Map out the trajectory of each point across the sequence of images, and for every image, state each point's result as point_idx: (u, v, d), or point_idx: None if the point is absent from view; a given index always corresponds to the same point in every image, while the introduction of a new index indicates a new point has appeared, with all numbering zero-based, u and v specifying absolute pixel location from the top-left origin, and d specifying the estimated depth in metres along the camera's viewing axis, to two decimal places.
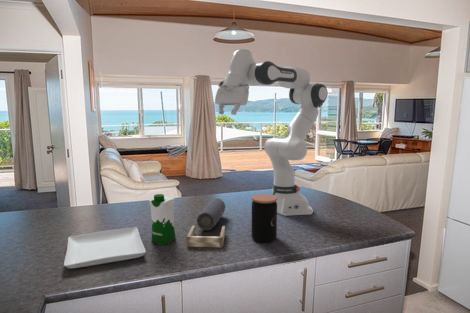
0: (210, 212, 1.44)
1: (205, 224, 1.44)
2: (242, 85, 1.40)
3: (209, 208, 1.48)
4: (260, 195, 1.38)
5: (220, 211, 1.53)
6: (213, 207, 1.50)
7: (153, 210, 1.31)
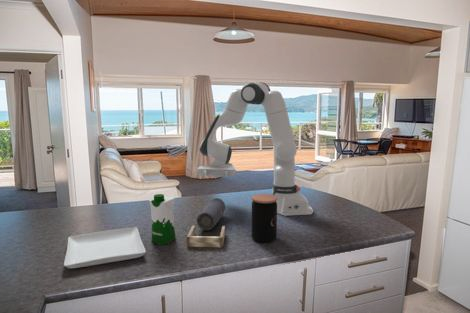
0: (210, 212, 1.44)
1: (205, 224, 1.44)
2: None
3: (209, 208, 1.48)
4: (260, 195, 1.38)
5: (220, 211, 1.53)
6: (213, 207, 1.50)
7: (153, 210, 1.31)
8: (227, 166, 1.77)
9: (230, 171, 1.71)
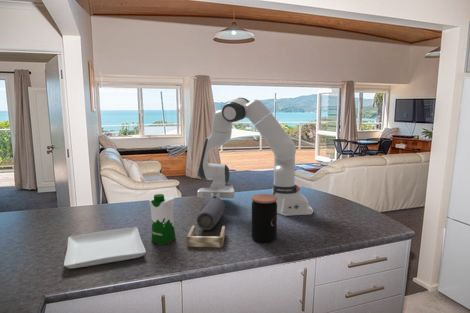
0: (210, 212, 1.44)
1: (205, 224, 1.44)
2: None
3: (209, 208, 1.48)
4: (260, 195, 1.38)
5: (220, 211, 1.53)
6: (213, 207, 1.50)
7: (153, 210, 1.31)
8: (227, 188, 1.79)
9: (229, 193, 1.74)
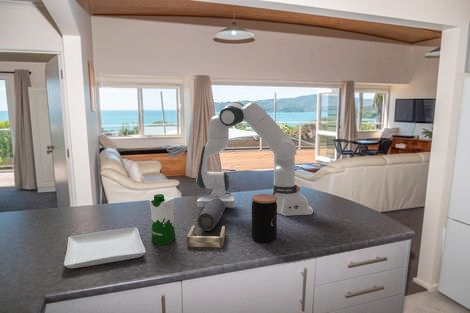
0: (210, 212, 1.43)
1: (205, 224, 1.43)
2: None
3: (209, 208, 1.47)
4: (260, 195, 1.38)
5: (220, 211, 1.52)
6: (213, 207, 1.49)
7: (153, 210, 1.31)
8: (227, 196, 1.75)
9: (230, 202, 1.69)
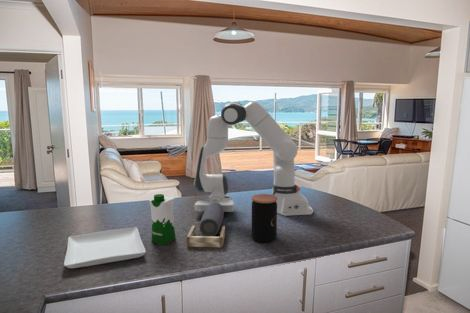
0: (213, 218, 1.37)
1: (208, 230, 1.36)
2: None
3: (211, 213, 1.40)
4: (260, 195, 1.38)
5: (221, 216, 1.46)
6: (215, 212, 1.42)
7: (153, 210, 1.31)
8: (226, 200, 1.68)
9: (229, 206, 1.62)
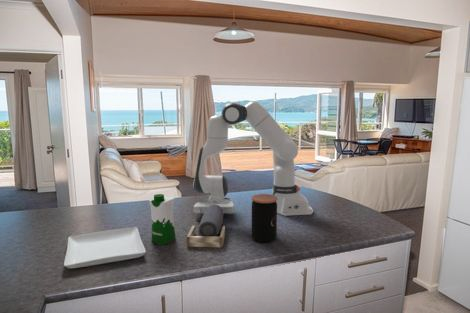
0: (213, 220, 1.34)
1: (208, 234, 1.33)
2: None
3: (210, 216, 1.37)
4: (260, 195, 1.38)
5: (221, 218, 1.43)
6: (214, 215, 1.39)
7: (153, 210, 1.31)
8: (226, 202, 1.65)
9: (229, 208, 1.60)
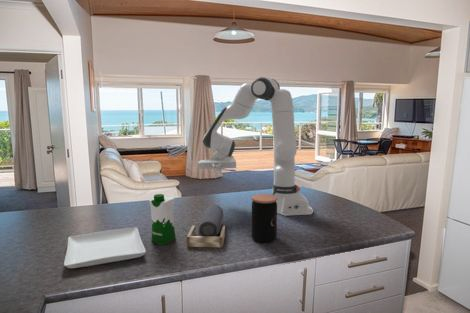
0: (213, 220, 1.34)
1: (208, 234, 1.33)
2: None
3: (210, 216, 1.37)
4: (260, 195, 1.38)
5: (221, 218, 1.43)
6: (214, 215, 1.39)
7: (153, 210, 1.31)
8: (228, 158, 1.74)
9: (231, 163, 1.69)
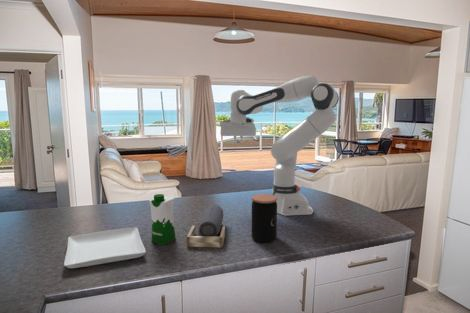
0: (213, 220, 1.34)
1: (208, 234, 1.33)
2: None
3: (210, 216, 1.37)
4: (260, 195, 1.38)
5: (221, 219, 1.43)
6: (214, 215, 1.39)
7: (153, 210, 1.31)
8: (248, 125, 1.82)
9: (251, 135, 1.84)
